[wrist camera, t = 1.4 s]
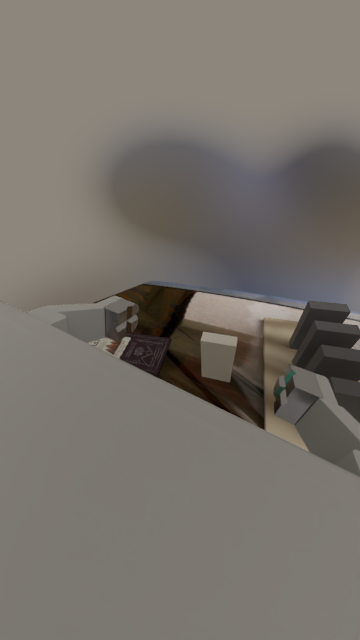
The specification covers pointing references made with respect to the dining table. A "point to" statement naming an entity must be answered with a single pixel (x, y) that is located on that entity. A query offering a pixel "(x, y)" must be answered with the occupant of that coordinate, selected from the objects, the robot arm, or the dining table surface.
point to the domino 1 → (217, 356)
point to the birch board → (277, 375)
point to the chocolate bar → (137, 350)
